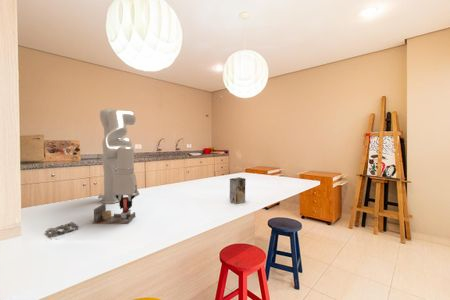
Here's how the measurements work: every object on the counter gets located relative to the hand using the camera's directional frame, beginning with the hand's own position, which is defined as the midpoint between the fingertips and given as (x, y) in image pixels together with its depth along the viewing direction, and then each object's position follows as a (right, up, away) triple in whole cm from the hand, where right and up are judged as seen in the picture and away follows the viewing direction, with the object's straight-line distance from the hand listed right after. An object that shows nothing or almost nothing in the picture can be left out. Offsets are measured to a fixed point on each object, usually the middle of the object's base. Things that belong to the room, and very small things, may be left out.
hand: (125, 207), depth 106 cm
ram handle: (0, -6, 0) cm, 6 cm away
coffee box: (+58, -7, +39) cm, 70 cm away
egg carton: (-22, -9, -13) cm, 27 cm away
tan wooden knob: (-10, -6, 0) cm, 11 cm away
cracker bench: (-6, -8, 0) cm, 9 cm away
